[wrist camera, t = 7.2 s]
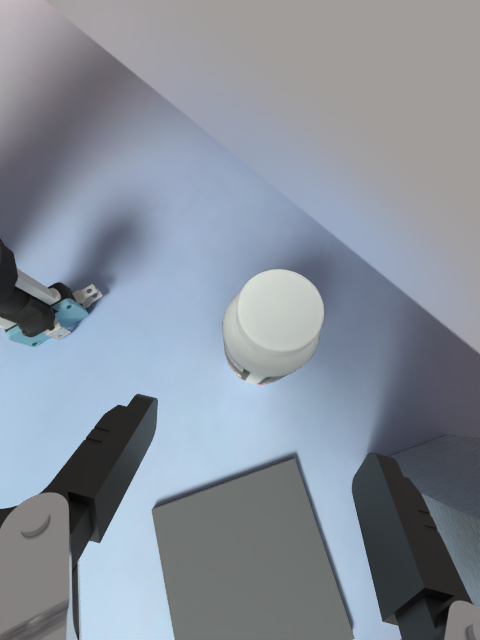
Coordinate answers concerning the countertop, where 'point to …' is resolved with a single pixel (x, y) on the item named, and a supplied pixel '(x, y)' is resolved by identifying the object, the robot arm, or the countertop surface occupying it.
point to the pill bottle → (272, 326)
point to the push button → (37, 304)
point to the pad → (249, 562)
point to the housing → (451, 498)
